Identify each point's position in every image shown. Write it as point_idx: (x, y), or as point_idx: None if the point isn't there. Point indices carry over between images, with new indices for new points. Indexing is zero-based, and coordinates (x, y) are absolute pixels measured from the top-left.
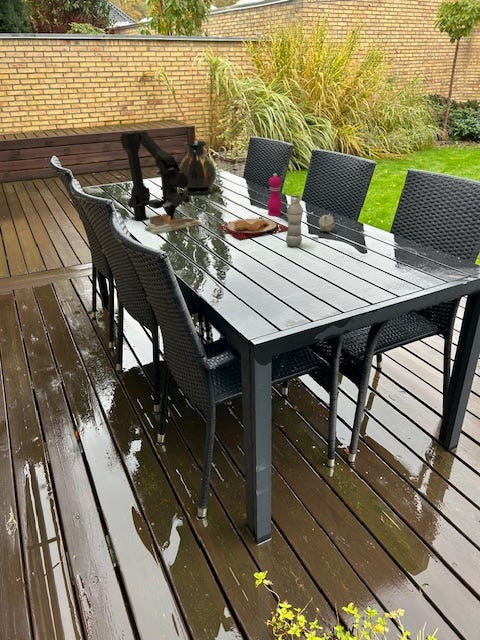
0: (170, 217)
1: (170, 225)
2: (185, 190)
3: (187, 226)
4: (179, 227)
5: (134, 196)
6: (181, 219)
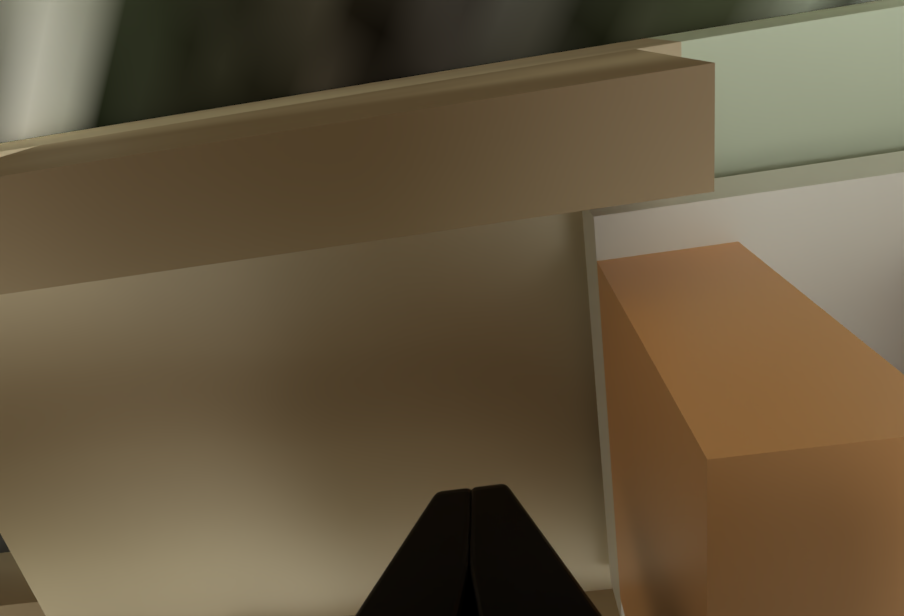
0: (684, 397)
1: None
2: None
3: (13, 143)
4: (314, 95)
5: None
6: (59, 204)
